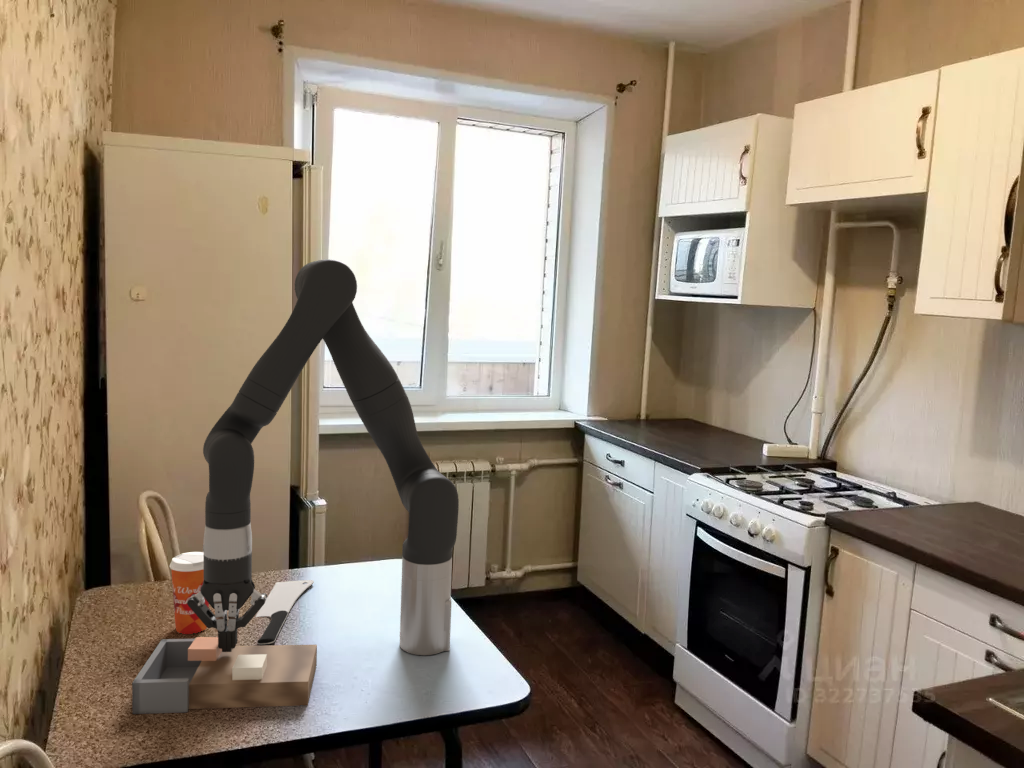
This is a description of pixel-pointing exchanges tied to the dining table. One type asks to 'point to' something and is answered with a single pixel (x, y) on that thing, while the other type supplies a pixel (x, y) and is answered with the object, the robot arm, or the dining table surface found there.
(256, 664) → the cream block
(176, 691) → the box
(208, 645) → the terracotta tile
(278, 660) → the walnut board
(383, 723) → the dining table surface
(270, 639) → the kitchen cleaver
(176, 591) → the paper cup
